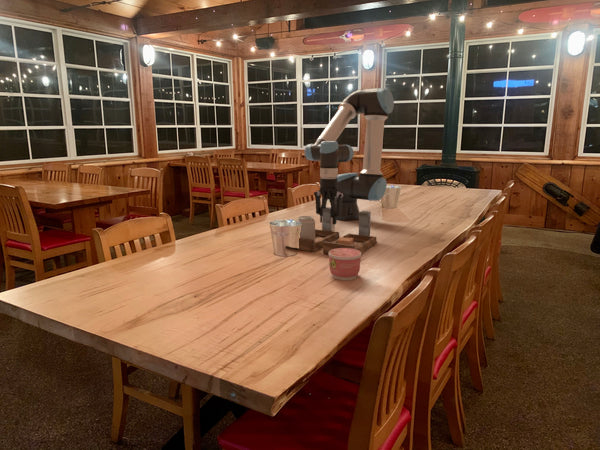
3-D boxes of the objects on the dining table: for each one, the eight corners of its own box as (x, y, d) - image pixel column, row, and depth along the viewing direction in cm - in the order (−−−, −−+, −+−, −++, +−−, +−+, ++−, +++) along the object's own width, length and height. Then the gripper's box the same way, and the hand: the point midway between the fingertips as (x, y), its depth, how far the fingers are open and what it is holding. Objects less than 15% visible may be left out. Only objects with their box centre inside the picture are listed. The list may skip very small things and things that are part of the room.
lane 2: (352, 236, 189) (353, 209, 186) (379, 240, 183) (380, 212, 180) (322, 253, 166) (323, 222, 163) (352, 257, 159) (353, 226, 157)
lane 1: (317, 232, 197) (318, 206, 195) (342, 235, 191) (343, 208, 189) (284, 247, 174) (284, 217, 171) (312, 251, 168) (312, 221, 165)
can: (313, 249, 172) (313, 219, 169) (294, 248, 173) (294, 218, 170) (316, 244, 179) (316, 215, 176) (298, 243, 180) (298, 214, 178)
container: (327, 270, 147) (328, 247, 145) (359, 270, 146) (359, 247, 144) (328, 281, 136) (329, 257, 135) (362, 281, 136) (363, 257, 134)
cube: (340, 249, 172) (341, 237, 170) (353, 250, 170) (353, 238, 169) (337, 252, 167) (337, 240, 166) (350, 254, 165) (350, 241, 164)
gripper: (307, 177, 188) (307, 230, 193) (342, 179, 180) (341, 234, 185) (315, 175, 194) (315, 226, 200) (350, 177, 186) (349, 231, 191)
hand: (328, 230), depth 192 cm, fingers closed on lane 1, 3 cm apart
